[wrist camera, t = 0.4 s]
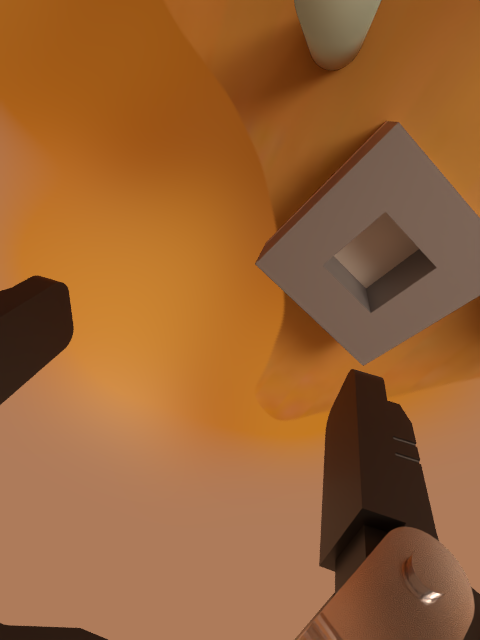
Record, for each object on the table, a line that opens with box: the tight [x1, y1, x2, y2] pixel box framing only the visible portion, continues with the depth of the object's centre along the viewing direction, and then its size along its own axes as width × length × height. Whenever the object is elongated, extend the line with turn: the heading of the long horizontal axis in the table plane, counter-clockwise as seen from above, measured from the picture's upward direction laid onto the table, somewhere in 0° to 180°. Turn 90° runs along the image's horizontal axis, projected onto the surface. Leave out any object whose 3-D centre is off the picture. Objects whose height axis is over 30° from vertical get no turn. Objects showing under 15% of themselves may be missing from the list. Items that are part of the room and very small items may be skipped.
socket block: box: [255, 121, 480, 366], centre depth 29 cm, size 14×14×6 cm
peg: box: [294, 0, 381, 70], centre depth 20 cm, size 4×4×12 cm
